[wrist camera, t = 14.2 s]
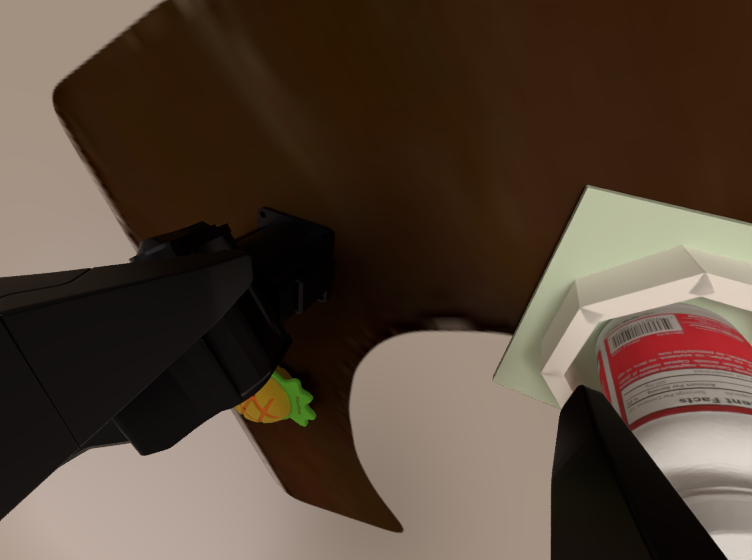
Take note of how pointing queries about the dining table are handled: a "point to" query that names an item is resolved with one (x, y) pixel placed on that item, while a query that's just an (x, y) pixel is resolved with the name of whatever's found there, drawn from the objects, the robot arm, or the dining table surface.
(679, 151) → the dining table surface
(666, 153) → the dining table surface
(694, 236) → the octagonal tray
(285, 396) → the toy pineapple
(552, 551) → the robot arm
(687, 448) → the pill bottle
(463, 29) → the dining table surface
